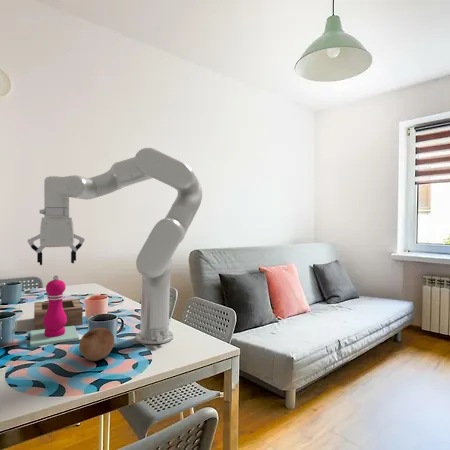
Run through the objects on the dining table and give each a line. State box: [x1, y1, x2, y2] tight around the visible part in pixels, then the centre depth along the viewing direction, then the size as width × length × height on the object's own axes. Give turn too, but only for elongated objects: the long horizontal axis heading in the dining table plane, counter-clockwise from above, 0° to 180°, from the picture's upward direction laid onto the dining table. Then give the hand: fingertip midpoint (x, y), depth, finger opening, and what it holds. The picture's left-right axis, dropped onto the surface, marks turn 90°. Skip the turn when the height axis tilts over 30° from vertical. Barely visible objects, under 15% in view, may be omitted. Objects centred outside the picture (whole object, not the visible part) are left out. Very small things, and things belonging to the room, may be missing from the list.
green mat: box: [29, 325, 80, 348], centre depth 115 cm, size 14×14×1 cm
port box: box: [33, 298, 84, 330], centre depth 131 cm, size 16×16×6 cm
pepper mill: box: [43, 275, 67, 337], centre depth 115 cm, size 7×7×20 cm
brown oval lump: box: [78, 326, 115, 362], centre depth 98 cm, size 10×9×10 cm
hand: (57, 263), depth 115 cm, fingers open, 9 cm apart
